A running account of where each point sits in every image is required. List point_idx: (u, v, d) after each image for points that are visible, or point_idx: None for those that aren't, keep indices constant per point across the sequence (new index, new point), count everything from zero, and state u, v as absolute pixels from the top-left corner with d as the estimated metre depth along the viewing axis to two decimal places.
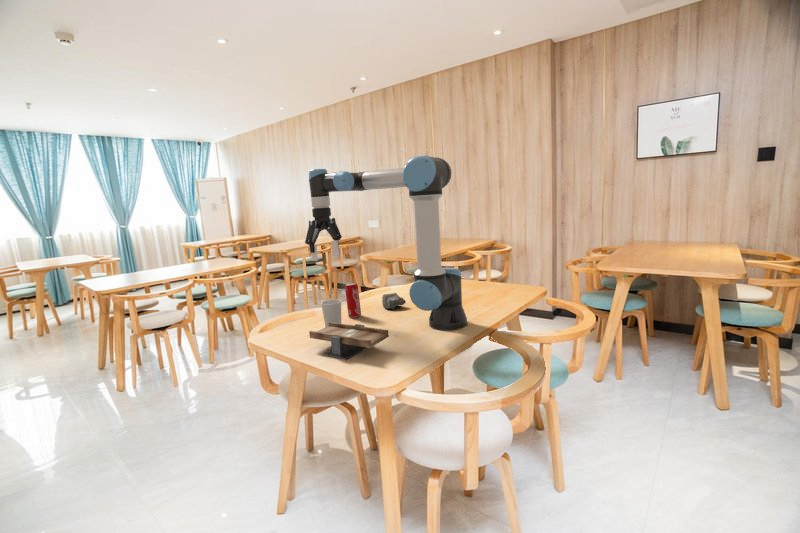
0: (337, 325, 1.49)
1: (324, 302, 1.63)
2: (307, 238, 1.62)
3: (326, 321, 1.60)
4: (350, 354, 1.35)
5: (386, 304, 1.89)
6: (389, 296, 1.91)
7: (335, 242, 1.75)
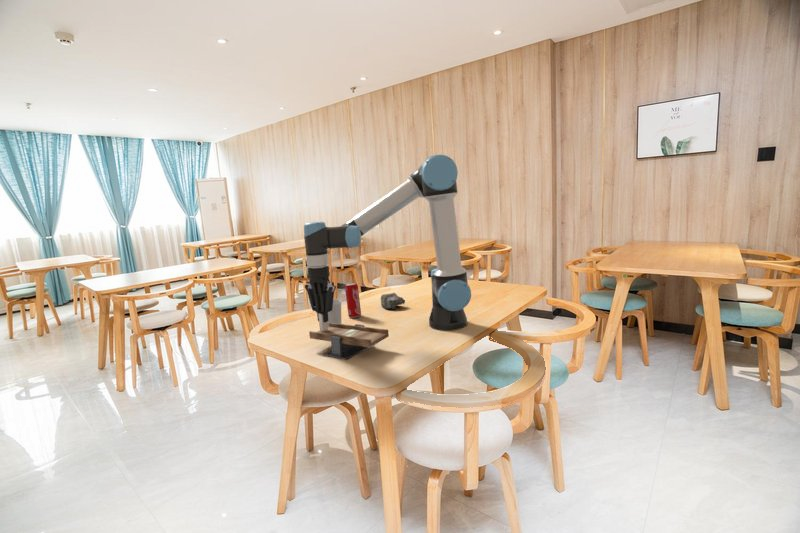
0: (337, 325, 1.49)
1: None
2: None
3: None
4: (350, 354, 1.35)
5: (386, 304, 1.89)
6: (388, 296, 1.91)
7: None
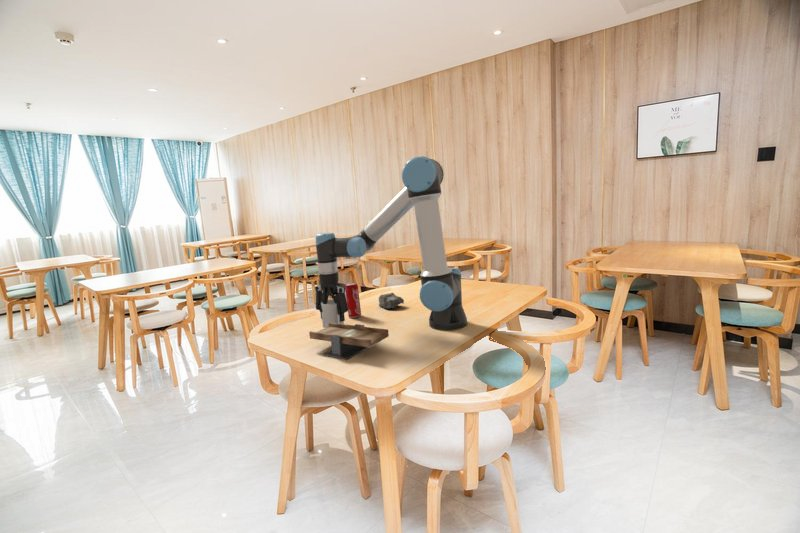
0: (337, 325, 1.49)
1: None
2: None
3: (326, 321, 1.60)
4: (350, 354, 1.35)
5: (386, 304, 1.89)
6: (387, 296, 1.91)
7: None
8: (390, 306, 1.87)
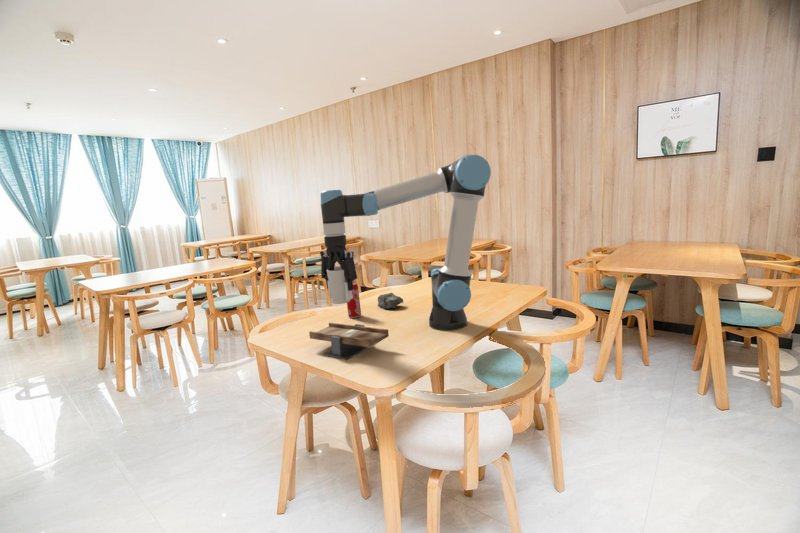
0: (337, 325, 1.49)
1: None
2: None
3: (332, 290, 1.42)
4: (350, 354, 1.35)
5: (386, 304, 1.89)
6: (387, 296, 1.91)
7: None
8: (390, 306, 1.87)
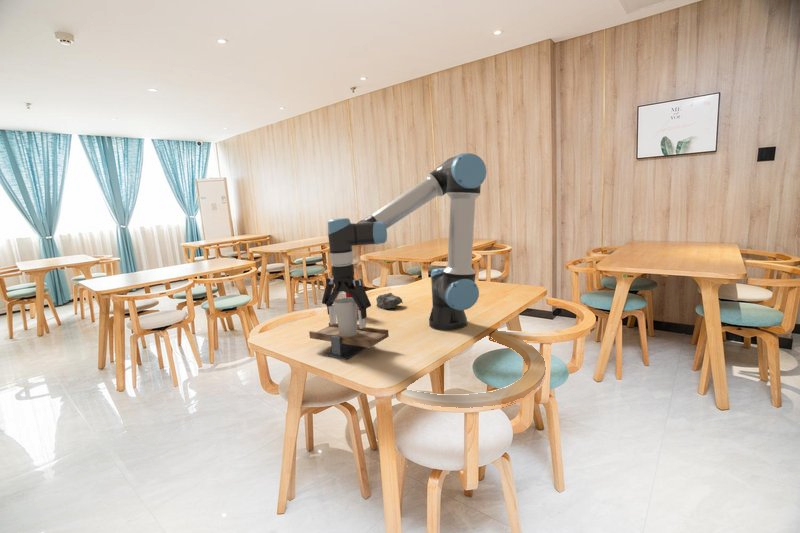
0: (337, 325, 1.49)
1: (337, 301, 1.40)
2: None
3: (340, 323, 1.37)
4: (350, 354, 1.35)
5: (385, 304, 1.89)
6: (386, 296, 1.91)
7: None
8: (390, 306, 1.87)
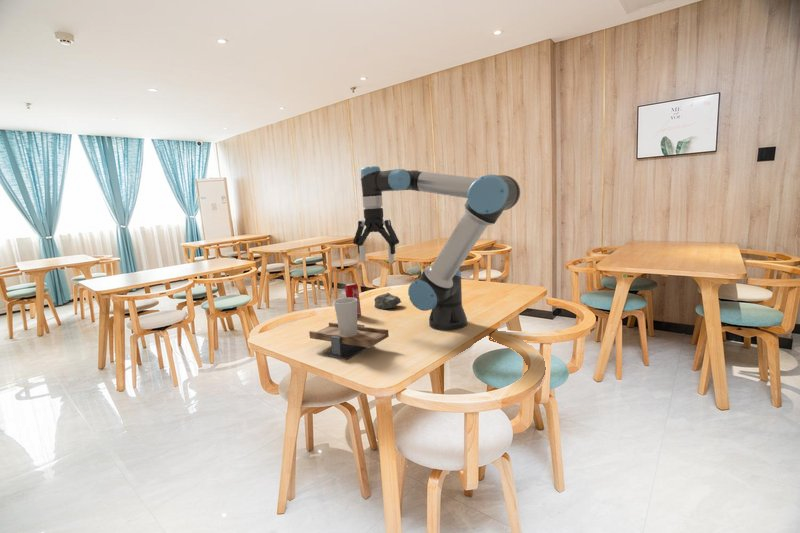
0: (337, 325, 1.49)
1: (337, 301, 1.40)
2: None
3: (340, 323, 1.37)
4: (350, 354, 1.35)
5: (385, 304, 1.88)
6: (385, 296, 1.91)
7: None
8: (391, 306, 1.87)
